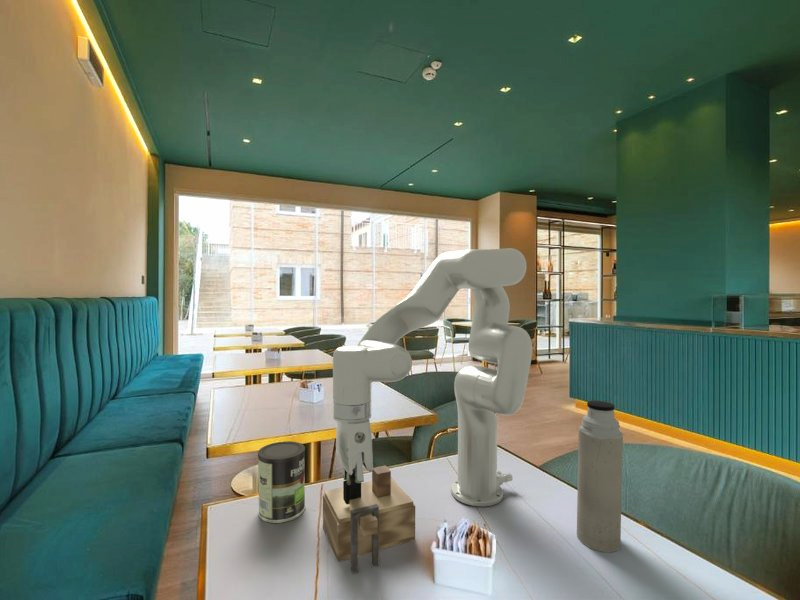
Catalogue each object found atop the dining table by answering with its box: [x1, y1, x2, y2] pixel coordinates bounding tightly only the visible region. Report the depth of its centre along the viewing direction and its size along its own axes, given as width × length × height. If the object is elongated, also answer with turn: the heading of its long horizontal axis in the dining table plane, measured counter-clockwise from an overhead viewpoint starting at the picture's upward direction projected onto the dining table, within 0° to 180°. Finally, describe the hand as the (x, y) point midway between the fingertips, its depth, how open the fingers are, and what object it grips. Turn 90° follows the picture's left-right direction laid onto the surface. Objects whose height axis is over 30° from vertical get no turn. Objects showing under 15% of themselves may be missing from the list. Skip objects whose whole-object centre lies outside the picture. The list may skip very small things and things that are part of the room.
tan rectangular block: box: [350, 498, 378, 537], centre depth 74 cm, size 3×9×2 cm, turn 24°
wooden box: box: [322, 493, 416, 574], centre depth 81 cm, size 16×16×11 cm
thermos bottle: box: [576, 400, 624, 553], centre depth 81 cm, size 8×8×28 cm
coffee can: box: [257, 440, 306, 524], centre depth 92 cm, size 10×10×14 cm
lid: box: [323, 465, 414, 524], centre depth 83 cm, size 15×11×7 cm
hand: (352, 500), depth 80 cm, fingers closed
